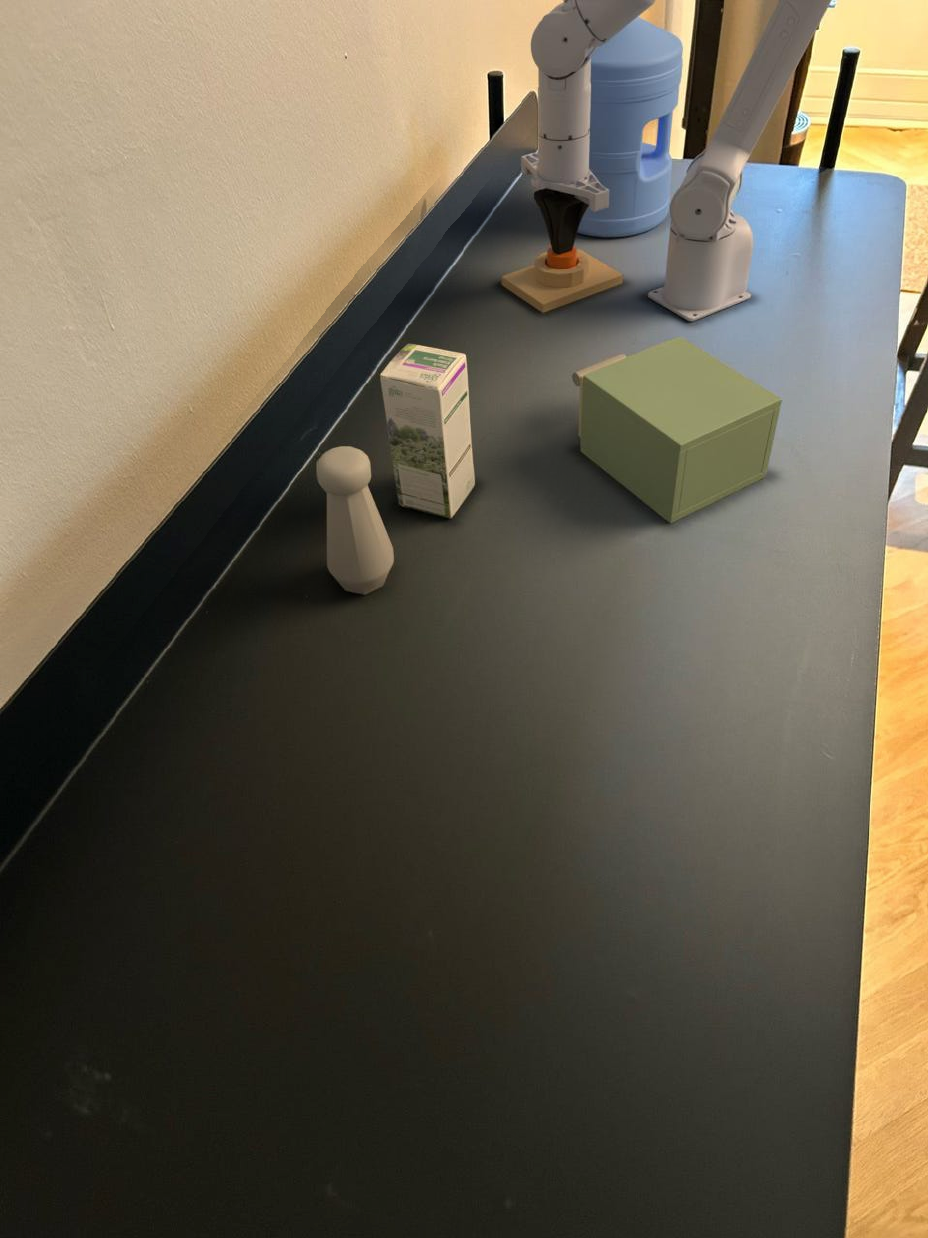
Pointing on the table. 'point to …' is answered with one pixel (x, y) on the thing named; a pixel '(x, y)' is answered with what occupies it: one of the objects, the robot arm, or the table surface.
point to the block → (560, 281)
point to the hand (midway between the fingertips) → (562, 250)
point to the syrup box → (429, 428)
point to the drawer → (578, 375)
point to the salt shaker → (353, 522)
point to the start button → (561, 259)
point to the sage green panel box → (677, 427)
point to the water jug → (632, 127)
